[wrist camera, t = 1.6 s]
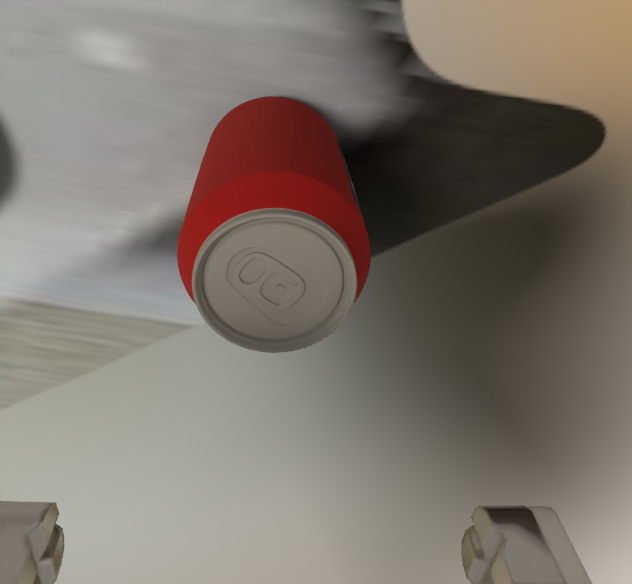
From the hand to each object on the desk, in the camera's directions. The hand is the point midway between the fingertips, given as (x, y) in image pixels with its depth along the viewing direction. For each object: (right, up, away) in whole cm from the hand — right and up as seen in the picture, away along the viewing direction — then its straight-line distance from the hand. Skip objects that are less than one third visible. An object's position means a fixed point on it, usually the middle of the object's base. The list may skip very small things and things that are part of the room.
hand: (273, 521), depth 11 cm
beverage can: (-1, +11, +17) cm, 21 cm away
